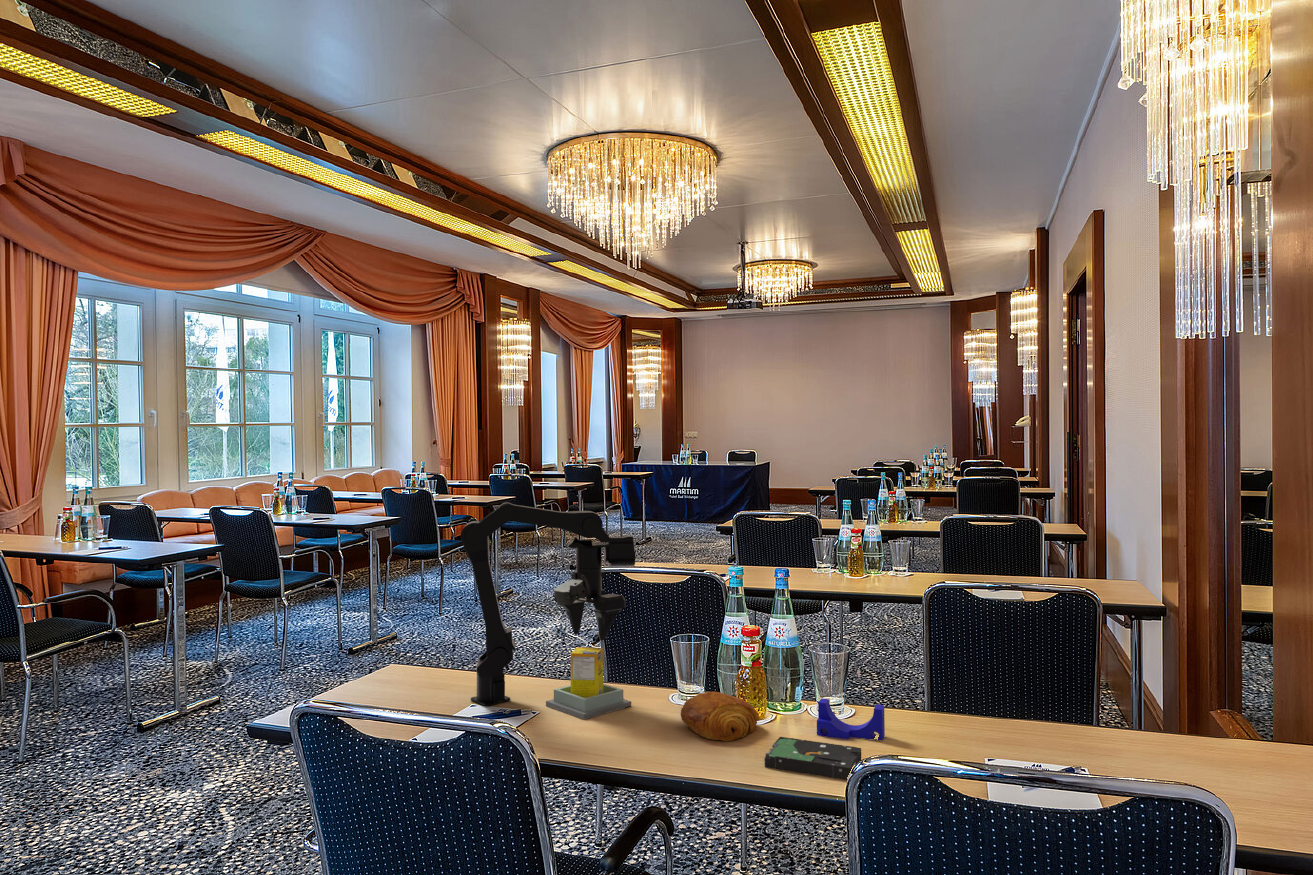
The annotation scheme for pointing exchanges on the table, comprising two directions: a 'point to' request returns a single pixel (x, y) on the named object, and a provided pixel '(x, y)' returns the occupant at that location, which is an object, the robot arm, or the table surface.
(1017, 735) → the table surface
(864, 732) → the blue u-shaped cradle
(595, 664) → the supplement box
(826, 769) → the disk drive
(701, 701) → the croissant
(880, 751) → the table surface
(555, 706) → the socket holder
